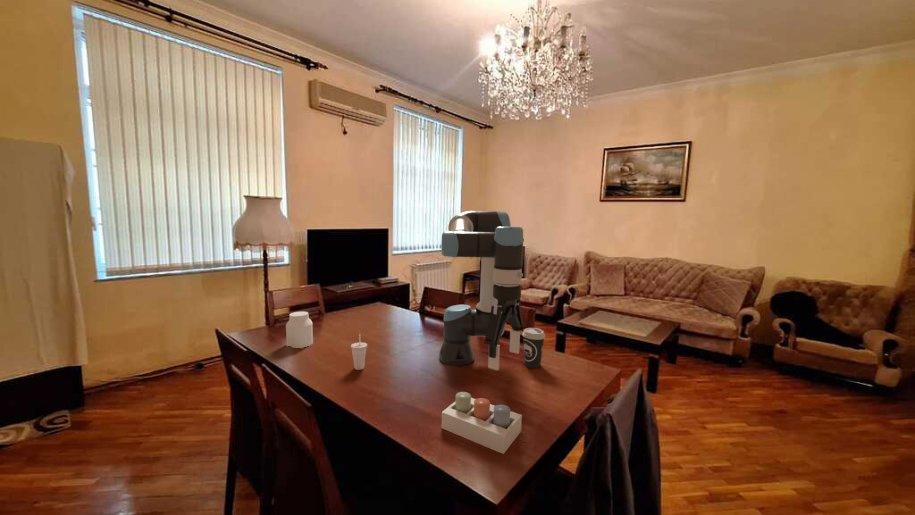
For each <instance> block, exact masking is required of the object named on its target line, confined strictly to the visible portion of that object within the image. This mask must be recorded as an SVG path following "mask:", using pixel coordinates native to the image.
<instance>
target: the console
mask: <svg viewBox="0 0 915 515" xmlns="http://www.w3.org/2000/svg"><path fill="white" fill-rule="evenodd" d="M476 399H477V398H473V397H471V410H470V411H469V412H468V413H467V414H465V413H462V412H459V411H457V410H455V403H456V400H455V401H454V402H453V403H451V404H450V405H449V406H448V407H447V408H445V409H444V410H442V412H441V429H442V430H445V431H448V432H449V433H450V432H451V433H452V434H455V435H456V436H457V435H458V436H460V437H462V438H464V439H466V440H469V441H472V442H473V443H476V444H479V445H481V446H483V447H486V448H487V449H491V450H492V451H495V452H497V453H500V454H502V455H504V454H505V453H506V451H507V450H508V449H509V447H510V446H511V445H512V444H513V442H514V441H515V440H516V439H517V437H518V436H519V435H520V434H521V432H522V420H523V414H520V413H517V412H514V411H511V410H510V426H509V427H508V428H507V429H505V428H502V427H499V426H497V425H494V424H493V418H494V407H495V406H496V405H494V404H491V403H490V417H489V418H488V419H487V420H486V421H483V420H481V419H478V418H475V417H474V401H475V400H476Z"/></svg>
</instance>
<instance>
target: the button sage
mask: <svg viewBox="0 0 915 515" xmlns="http://www.w3.org/2000/svg"><path fill="white" fill-rule="evenodd" d="M471 398H472V395H471V393H469V392H466V391H460V392H457V393H456V394H455V401H456V403H455V410H457V411H459V412H462V413H465V414H467V413H468V412H469V411H470V410H471Z"/></svg>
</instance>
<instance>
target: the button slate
mask: <svg viewBox="0 0 915 515" xmlns="http://www.w3.org/2000/svg"><path fill="white" fill-rule="evenodd" d="M494 406H495V407H494V418H493V424H494V425H497V426H499V427H502V428H505V429H507V428H508V427H509V426H510V411H511V408H510V407H509V406H507V405H505V404H496V405H494Z"/></svg>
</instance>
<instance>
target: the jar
mask: <svg viewBox="0 0 915 515" xmlns="http://www.w3.org/2000/svg"><path fill="white" fill-rule="evenodd" d="M288 316H289V320H288V321H287V322H286V324H285V332H286V347H288V346H291V347H290V348H293V349H294V348H301V349H304V348H303V347H306V348H308V347H307V346H309V347H311V346H312V345H313V344H314V336H313V334H314V333H313V325H314V324H313V321H312V319H311V318H309V316H310V315H309V312H308V311H294V312H291V313H290V314H289V315H288ZM310 345H311V346H310Z"/></svg>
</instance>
